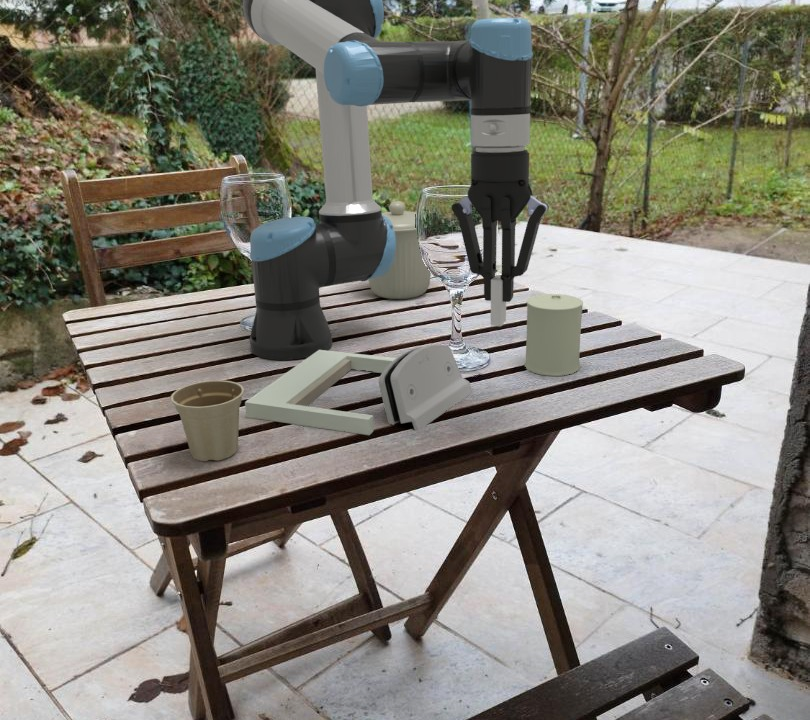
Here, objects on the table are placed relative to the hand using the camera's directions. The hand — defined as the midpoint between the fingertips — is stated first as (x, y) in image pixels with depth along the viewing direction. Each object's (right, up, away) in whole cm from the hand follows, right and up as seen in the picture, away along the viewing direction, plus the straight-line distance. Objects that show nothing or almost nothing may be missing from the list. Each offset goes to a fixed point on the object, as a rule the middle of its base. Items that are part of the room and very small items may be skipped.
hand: (498, 323), depth 107 cm
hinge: (-10, -12, +9) cm, 18 cm away
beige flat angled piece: (-23, -11, +14) cm, 29 cm away
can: (+12, -6, +23) cm, 27 cm away
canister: (-14, +10, +69) cm, 71 cm away
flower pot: (-39, -18, -3) cm, 43 cm away
